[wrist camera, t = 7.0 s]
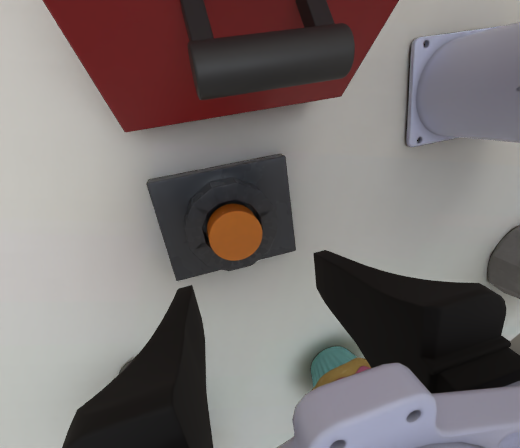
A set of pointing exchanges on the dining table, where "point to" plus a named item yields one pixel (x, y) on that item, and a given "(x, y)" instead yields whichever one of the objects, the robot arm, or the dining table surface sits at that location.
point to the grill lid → (217, 53)
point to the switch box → (213, 197)
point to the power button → (234, 232)
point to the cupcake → (335, 365)
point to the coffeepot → (506, 264)
